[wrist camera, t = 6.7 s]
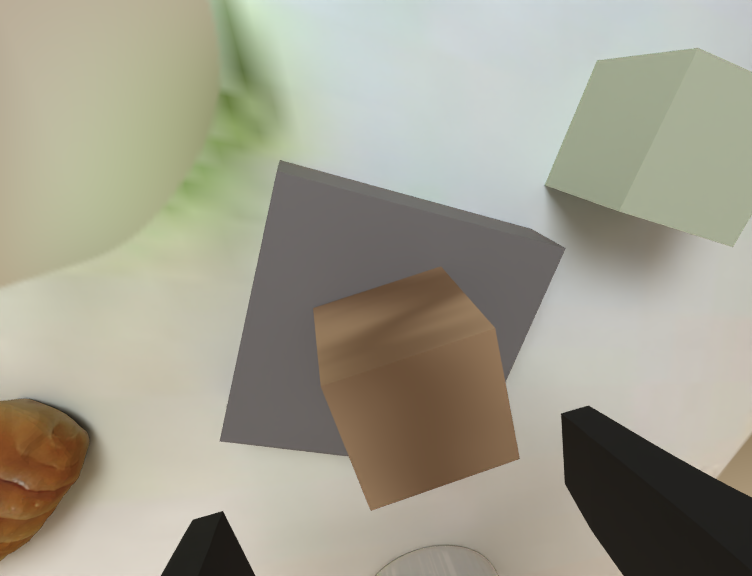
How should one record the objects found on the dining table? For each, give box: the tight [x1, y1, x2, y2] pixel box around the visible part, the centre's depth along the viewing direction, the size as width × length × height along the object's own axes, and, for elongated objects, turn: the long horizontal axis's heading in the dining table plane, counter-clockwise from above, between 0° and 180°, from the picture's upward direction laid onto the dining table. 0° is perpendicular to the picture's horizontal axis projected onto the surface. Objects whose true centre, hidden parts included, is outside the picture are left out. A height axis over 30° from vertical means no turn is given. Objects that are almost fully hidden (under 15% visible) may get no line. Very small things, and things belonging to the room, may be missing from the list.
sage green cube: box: [545, 48, 752, 247], centre depth 15 cm, size 4×4×4 cm
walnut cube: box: [313, 266, 520, 511], centre depth 14 cm, size 4×4×4 cm
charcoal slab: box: [220, 160, 565, 456], centre depth 18 cm, size 10×10×3 cm
